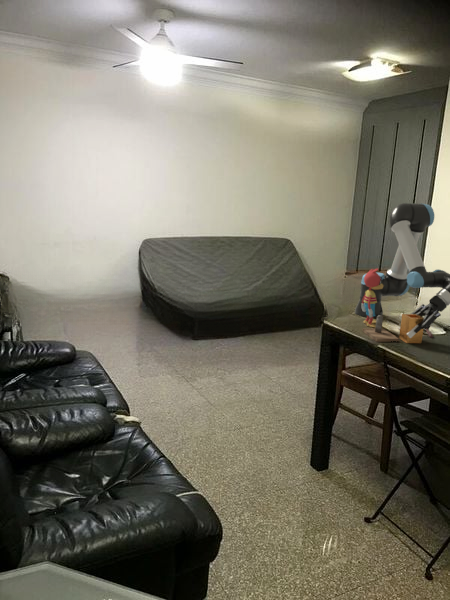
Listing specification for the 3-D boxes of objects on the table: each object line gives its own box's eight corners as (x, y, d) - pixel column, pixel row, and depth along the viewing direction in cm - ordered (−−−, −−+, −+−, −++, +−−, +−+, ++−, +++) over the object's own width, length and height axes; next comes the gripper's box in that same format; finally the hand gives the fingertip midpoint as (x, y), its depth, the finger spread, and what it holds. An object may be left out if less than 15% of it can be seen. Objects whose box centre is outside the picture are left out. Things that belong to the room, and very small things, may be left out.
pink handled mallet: (408, 325, 255) (424, 329, 254) (413, 339, 238) (431, 344, 237) (413, 312, 252) (429, 316, 251) (418, 326, 235) (436, 330, 234)
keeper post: (362, 331, 241) (364, 311, 239) (383, 331, 243) (385, 312, 240) (376, 341, 226) (379, 321, 223) (398, 341, 227) (401, 321, 225)
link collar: (398, 338, 233) (402, 314, 230) (413, 338, 234) (416, 314, 231) (406, 343, 226) (410, 318, 223) (421, 343, 227) (425, 318, 224)
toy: (383, 329, 246) (390, 271, 239) (363, 328, 246) (370, 270, 239) (374, 321, 261) (381, 266, 254) (355, 320, 261) (362, 265, 253)
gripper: (458, 312, 218) (419, 346, 220) (433, 300, 238) (398, 332, 239) (449, 300, 216) (410, 334, 218) (425, 290, 236) (389, 321, 237)
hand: (404, 333), depth 228 cm, fingers closed on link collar, 7 cm apart
